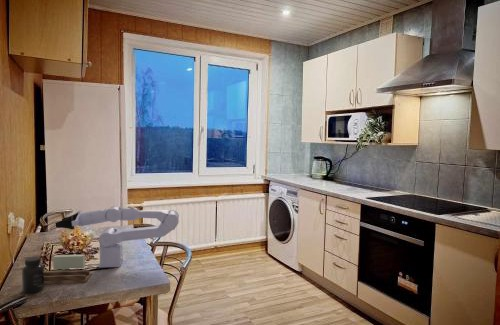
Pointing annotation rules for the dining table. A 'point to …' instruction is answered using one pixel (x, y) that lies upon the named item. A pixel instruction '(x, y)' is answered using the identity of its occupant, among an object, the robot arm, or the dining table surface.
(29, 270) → the supplement bottle
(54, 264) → the door panel
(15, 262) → the dining table surface
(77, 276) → the brown flat wooden board
